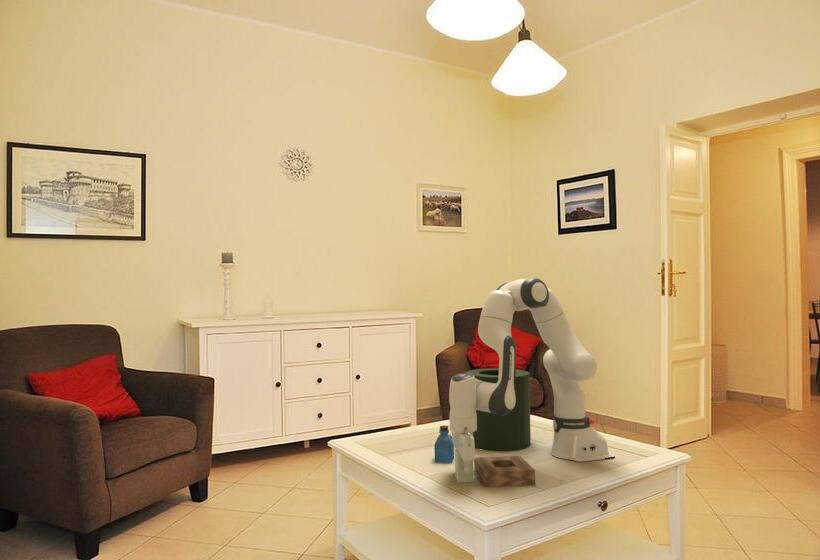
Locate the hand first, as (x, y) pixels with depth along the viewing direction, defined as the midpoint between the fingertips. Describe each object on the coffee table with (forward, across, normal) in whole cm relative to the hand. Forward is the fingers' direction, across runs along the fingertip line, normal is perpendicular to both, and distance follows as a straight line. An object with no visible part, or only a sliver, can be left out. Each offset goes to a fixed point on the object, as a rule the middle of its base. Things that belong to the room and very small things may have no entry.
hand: (463, 467), depth 184 cm
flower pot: (+4, +42, -22) cm, 48 cm away
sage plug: (+4, 0, 0) cm, 4 cm away
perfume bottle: (+4, +22, +3) cm, 22 cm away
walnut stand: (+4, 0, -13) cm, 14 cm away
